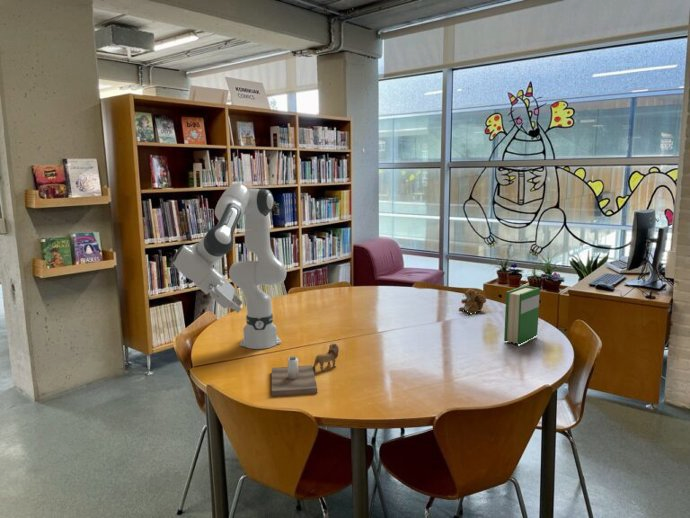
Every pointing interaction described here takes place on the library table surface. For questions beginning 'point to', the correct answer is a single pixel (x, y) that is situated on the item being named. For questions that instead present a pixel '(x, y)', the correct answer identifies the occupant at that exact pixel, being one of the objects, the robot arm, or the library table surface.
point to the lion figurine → (327, 357)
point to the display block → (293, 381)
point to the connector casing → (293, 367)
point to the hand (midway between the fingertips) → (240, 307)
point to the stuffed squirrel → (473, 301)
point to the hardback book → (521, 314)
